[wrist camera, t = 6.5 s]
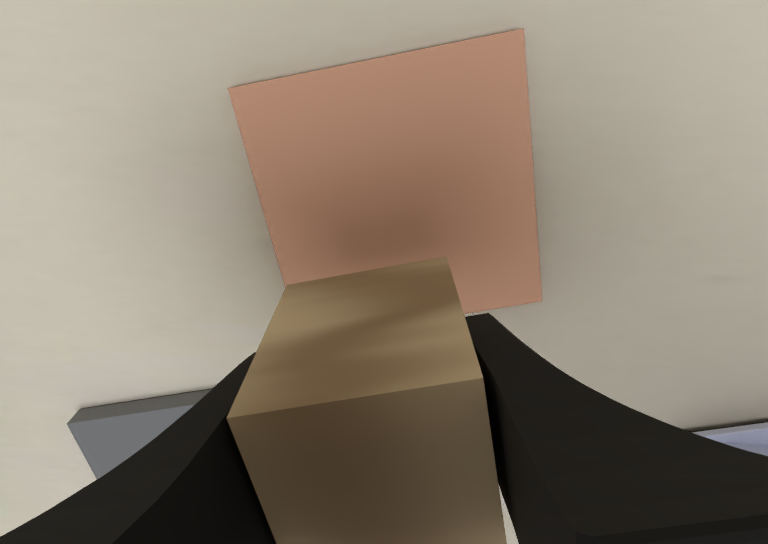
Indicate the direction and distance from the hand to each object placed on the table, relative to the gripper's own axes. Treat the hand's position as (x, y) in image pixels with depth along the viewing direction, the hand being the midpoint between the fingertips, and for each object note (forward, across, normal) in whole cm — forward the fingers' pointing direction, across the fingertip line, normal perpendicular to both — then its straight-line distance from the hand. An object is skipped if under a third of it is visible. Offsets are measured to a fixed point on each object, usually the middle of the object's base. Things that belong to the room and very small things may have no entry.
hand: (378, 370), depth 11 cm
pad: (+9, -1, -1) cm, 9 cm away
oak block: (+2, 0, 0) cm, 2 cm away
